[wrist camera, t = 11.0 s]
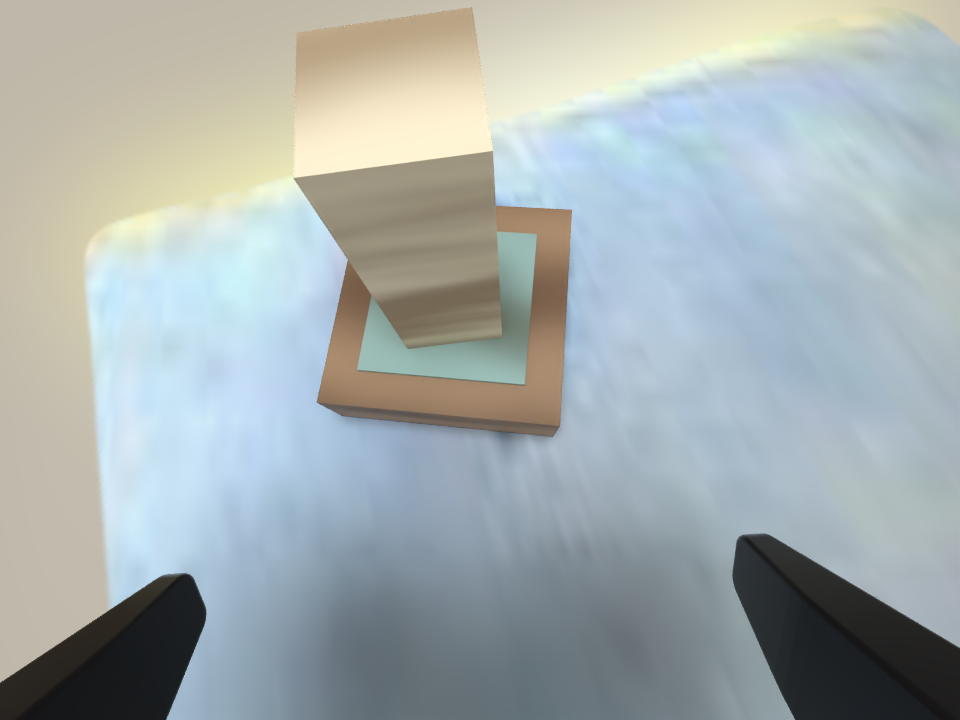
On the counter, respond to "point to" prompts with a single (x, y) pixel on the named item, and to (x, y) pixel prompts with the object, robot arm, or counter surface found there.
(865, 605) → the robot arm
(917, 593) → the counter surface
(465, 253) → the birch post
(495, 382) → the walnut plinth
